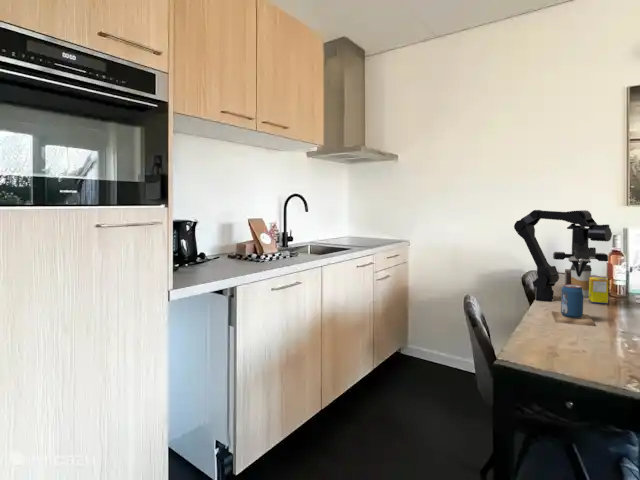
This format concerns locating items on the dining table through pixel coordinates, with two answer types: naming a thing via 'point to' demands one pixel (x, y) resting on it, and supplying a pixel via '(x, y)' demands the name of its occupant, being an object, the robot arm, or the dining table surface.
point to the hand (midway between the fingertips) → (578, 276)
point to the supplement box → (598, 290)
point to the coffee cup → (582, 278)
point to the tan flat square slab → (583, 320)
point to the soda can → (572, 301)
